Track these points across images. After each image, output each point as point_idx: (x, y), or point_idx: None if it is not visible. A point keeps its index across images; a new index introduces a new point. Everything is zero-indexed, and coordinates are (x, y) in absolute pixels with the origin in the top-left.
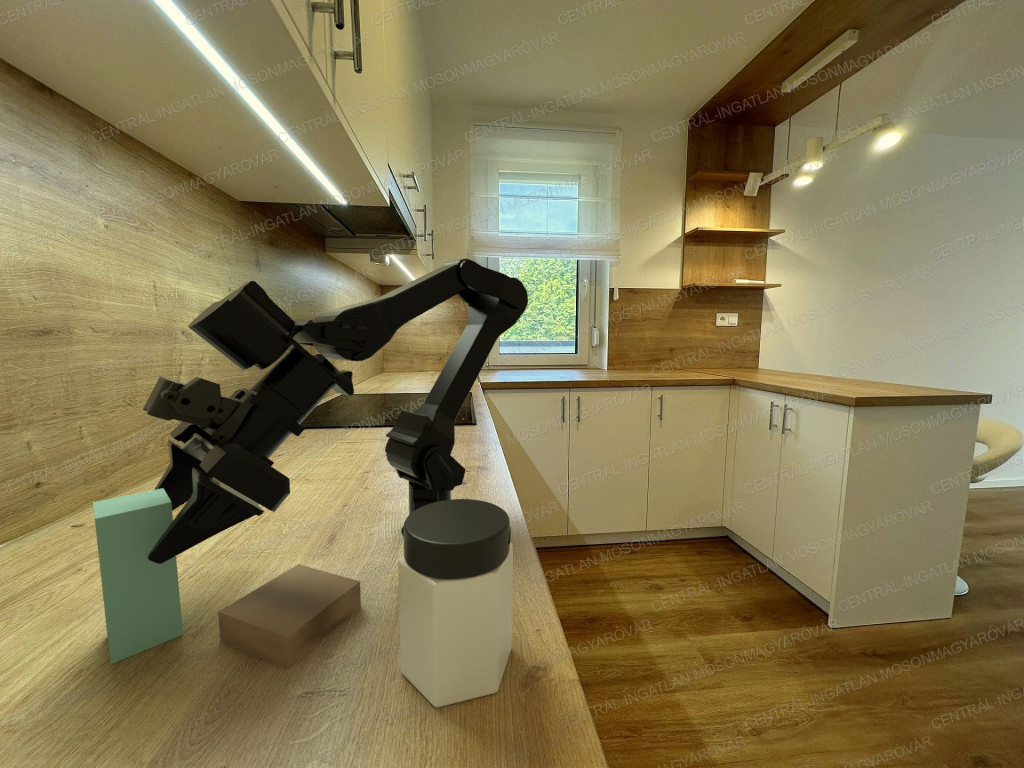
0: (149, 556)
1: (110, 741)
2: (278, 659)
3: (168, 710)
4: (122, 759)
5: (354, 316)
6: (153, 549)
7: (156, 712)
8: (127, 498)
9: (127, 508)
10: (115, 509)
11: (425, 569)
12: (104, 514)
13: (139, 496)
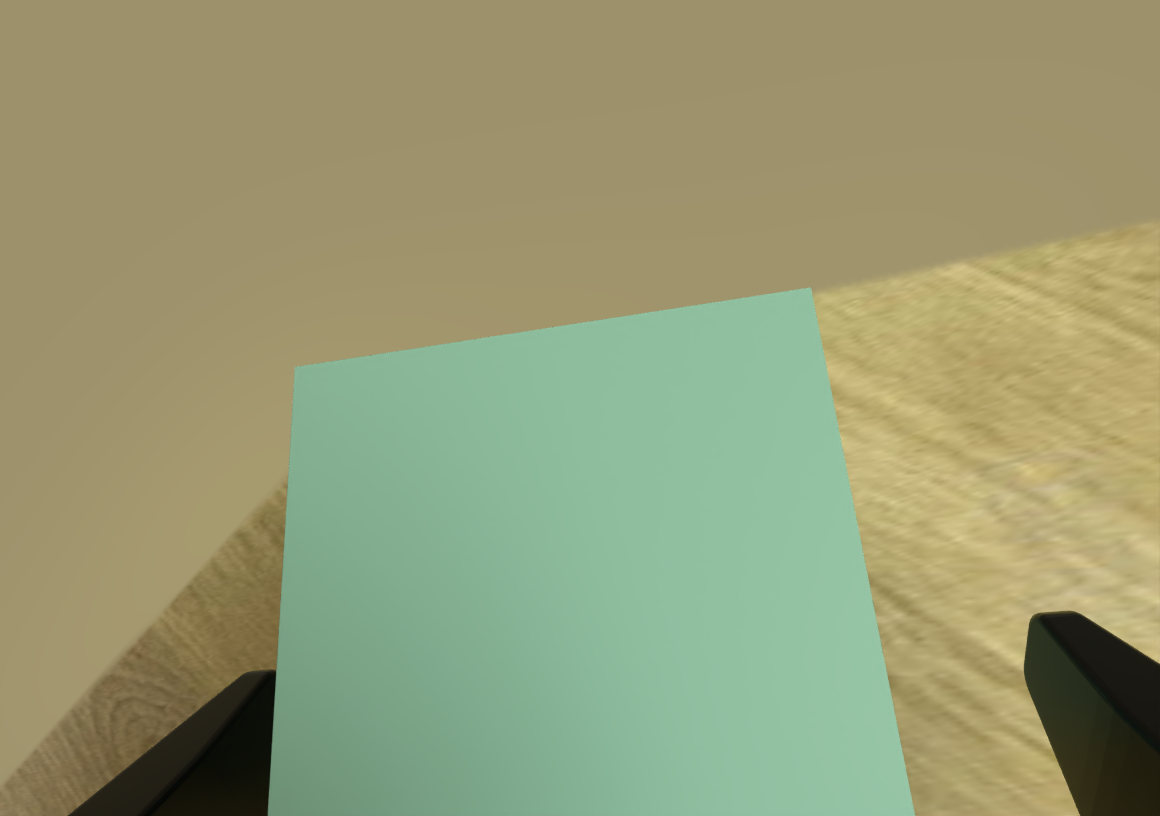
0: (240, 679)
1: (264, 552)
2: None
3: (262, 665)
4: (195, 575)
5: None
6: (220, 706)
7: (277, 640)
8: (735, 560)
9: (382, 569)
10: (432, 480)
11: None
12: (346, 416)
13: (720, 672)
